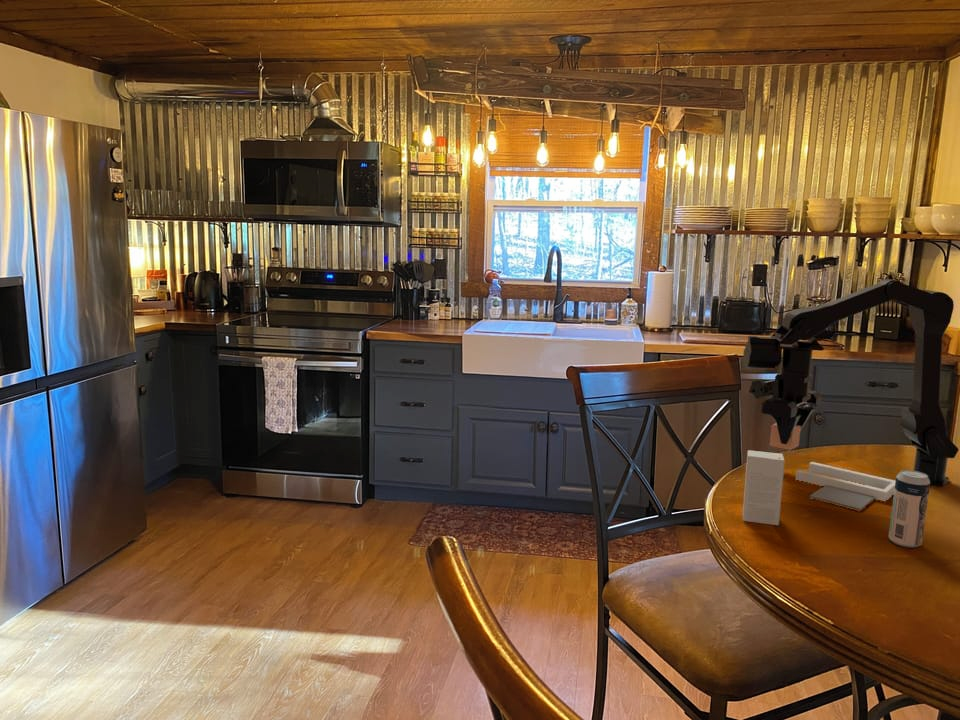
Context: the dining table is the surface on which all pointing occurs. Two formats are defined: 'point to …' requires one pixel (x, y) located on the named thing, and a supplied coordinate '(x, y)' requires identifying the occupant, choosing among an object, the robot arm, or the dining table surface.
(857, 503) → the coaster
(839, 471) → the channel
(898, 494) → the beer can
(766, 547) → the dining table surface
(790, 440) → the block
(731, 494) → the dining table surface
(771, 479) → the skincare box
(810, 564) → the dining table surface
